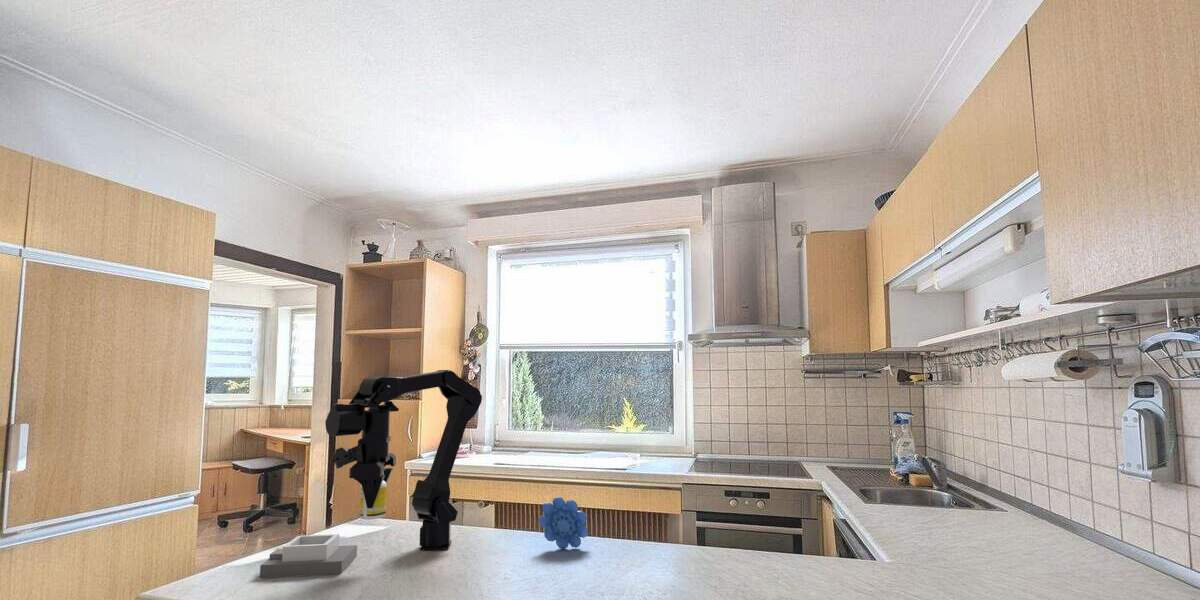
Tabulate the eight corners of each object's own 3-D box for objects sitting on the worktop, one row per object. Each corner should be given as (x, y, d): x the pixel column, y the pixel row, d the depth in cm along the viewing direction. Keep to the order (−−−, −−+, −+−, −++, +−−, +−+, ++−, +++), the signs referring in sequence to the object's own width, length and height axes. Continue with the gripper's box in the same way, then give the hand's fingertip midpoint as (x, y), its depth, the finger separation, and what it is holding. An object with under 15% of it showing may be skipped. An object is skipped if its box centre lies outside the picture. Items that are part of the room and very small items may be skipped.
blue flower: (537, 555, 137) (537, 500, 138) (539, 546, 144) (539, 494, 145) (588, 554, 137) (588, 499, 139) (588, 545, 144) (587, 493, 146)
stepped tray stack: (356, 556, 137) (357, 531, 138) (341, 573, 125) (342, 546, 126) (282, 560, 135) (283, 534, 136) (259, 577, 123) (261, 550, 124)
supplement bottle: (390, 515, 134) (392, 470, 135) (374, 521, 129) (376, 474, 130) (370, 513, 136) (372, 469, 137) (353, 519, 131) (355, 472, 132)
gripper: (348, 430, 142) (345, 498, 140) (324, 438, 124) (321, 516, 122) (397, 429, 144) (395, 496, 142) (381, 436, 126) (378, 514, 124)
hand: (372, 505), depth 133 cm, fingers closed on supplement bottle, 5 cm apart
